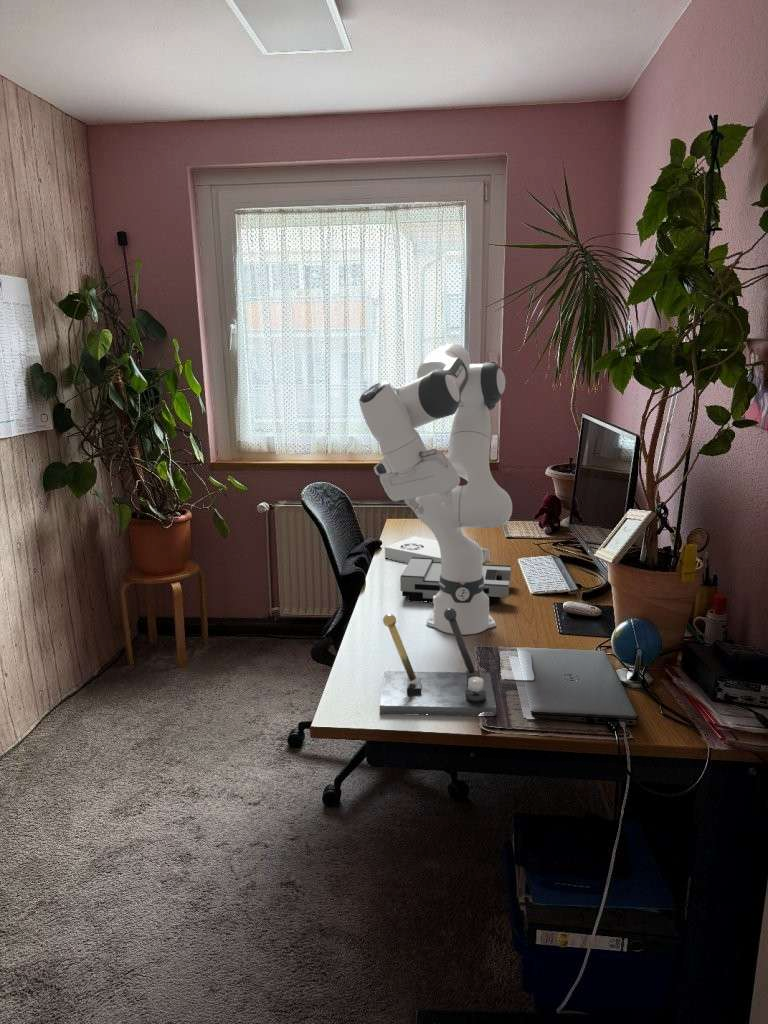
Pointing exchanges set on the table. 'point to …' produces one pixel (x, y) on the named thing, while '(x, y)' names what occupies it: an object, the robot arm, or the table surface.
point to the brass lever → (399, 645)
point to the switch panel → (435, 694)
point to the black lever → (459, 638)
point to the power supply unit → (418, 550)
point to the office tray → (425, 576)
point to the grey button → (475, 684)
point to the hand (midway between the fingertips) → (435, 511)
